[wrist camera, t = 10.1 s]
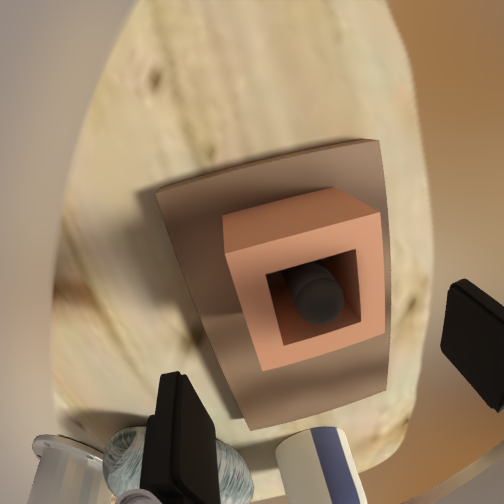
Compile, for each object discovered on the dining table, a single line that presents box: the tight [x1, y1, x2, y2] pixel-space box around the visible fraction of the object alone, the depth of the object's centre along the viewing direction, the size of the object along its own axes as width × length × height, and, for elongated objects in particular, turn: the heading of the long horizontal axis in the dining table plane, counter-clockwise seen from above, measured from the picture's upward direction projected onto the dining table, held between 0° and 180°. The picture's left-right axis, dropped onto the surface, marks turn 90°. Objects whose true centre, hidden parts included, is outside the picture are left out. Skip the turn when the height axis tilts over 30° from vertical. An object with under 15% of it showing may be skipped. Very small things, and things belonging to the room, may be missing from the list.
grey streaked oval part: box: [102, 427, 254, 504], centre depth 21 cm, size 14×10×10 cm
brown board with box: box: [155, 139, 391, 431], centre depth 17 cm, size 20×12×8 cm, turn 14°
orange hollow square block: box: [222, 187, 385, 371], centre depth 14 cm, size 6×6×5 cm
